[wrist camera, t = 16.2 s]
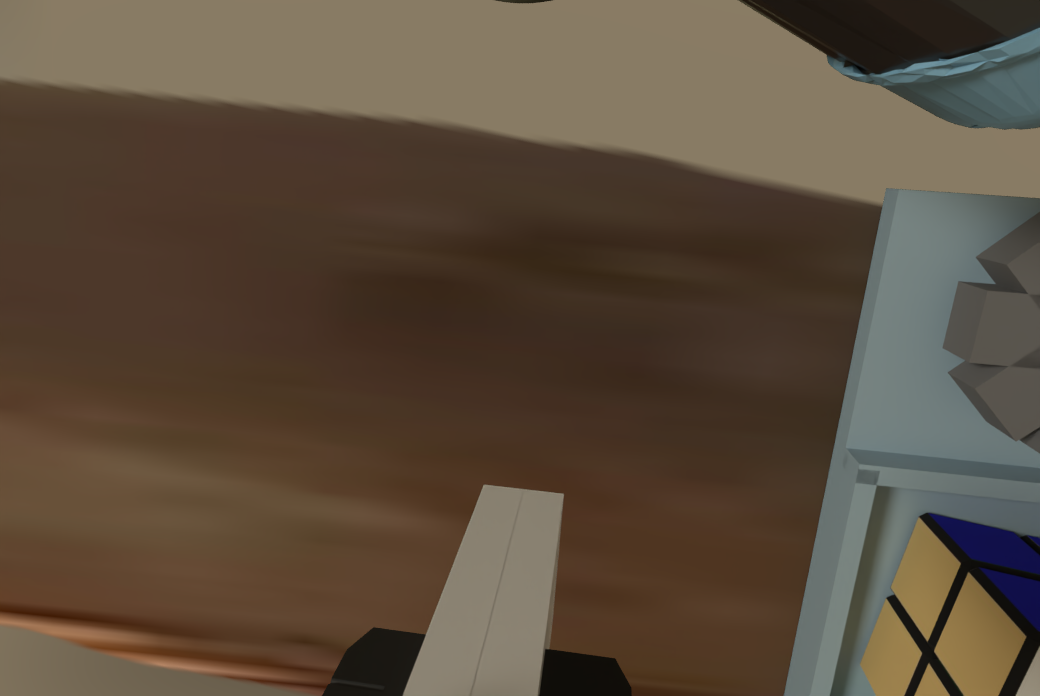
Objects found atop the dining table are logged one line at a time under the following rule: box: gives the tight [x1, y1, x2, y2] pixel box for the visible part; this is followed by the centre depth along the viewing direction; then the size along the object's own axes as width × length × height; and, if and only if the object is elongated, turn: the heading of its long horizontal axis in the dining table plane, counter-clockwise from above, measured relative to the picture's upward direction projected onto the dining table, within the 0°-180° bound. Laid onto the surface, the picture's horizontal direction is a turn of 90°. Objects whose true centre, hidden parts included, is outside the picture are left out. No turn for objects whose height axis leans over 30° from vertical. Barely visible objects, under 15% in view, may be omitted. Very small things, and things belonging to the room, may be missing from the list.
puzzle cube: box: [860, 513, 1040, 696], centre depth 31 cm, size 10×10×10 cm
